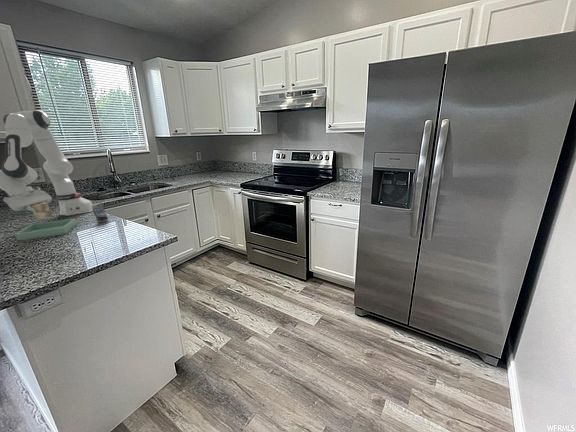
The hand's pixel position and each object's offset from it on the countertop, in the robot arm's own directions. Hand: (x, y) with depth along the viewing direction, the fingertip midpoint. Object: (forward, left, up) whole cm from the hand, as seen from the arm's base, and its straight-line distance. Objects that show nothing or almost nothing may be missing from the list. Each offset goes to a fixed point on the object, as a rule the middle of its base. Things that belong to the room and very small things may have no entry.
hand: (42, 210), depth 151 cm
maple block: (+1, 0, -4) cm, 4 cm away
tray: (0, 0, -14) cm, 14 cm away
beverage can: (-25, -8, -14) cm, 30 cm away
